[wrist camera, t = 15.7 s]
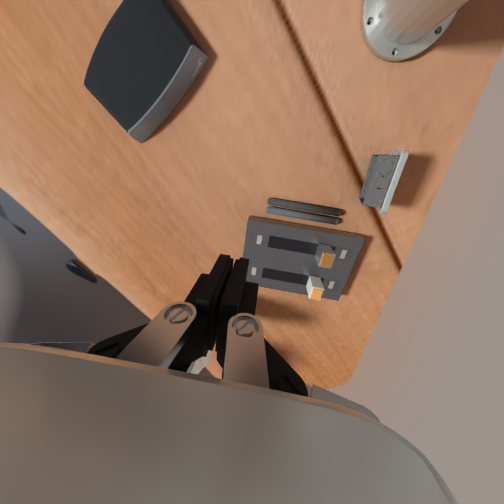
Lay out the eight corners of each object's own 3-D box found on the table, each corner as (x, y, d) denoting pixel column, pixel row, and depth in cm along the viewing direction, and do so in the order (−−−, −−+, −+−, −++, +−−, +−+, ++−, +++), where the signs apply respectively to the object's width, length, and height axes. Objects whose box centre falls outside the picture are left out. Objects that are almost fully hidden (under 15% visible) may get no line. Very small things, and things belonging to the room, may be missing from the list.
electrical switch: (376, 203, 40) (397, 216, 32) (350, 200, 41) (363, 212, 33) (395, 151, 36) (424, 150, 28) (364, 149, 37) (384, 147, 29)
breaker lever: (309, 275, 45) (313, 287, 41) (320, 277, 45) (324, 289, 41) (306, 286, 47) (309, 299, 43) (316, 288, 47) (320, 301, 43)
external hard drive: (212, 63, 34) (204, 52, 30) (145, 146, 40) (132, 146, 37) (152, -23, 30) (135, -47, 26) (89, 84, 37) (69, 77, 33)
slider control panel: (249, 215, 44) (244, 227, 37) (359, 234, 43) (375, 249, 36) (241, 276, 51) (235, 295, 44) (335, 292, 50) (344, 315, 43)
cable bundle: (268, 196, 42) (268, 198, 41) (342, 209, 41) (344, 210, 40) (265, 211, 43) (265, 213, 42) (336, 223, 43) (338, 225, 42)
